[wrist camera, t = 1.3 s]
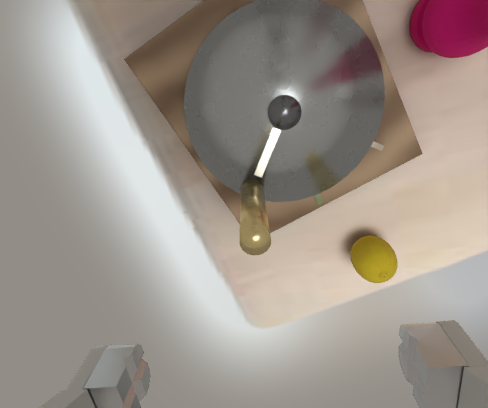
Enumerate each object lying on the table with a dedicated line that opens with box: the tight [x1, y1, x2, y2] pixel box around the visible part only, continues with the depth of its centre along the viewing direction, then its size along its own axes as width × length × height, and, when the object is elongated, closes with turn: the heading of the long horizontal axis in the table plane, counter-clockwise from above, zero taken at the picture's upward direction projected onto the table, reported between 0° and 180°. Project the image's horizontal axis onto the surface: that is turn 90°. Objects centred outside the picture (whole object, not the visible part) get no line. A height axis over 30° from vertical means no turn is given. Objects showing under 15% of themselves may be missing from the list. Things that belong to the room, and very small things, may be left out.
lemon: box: [351, 236, 397, 283], centre depth 44 cm, size 6×6×8 cm
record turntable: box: [184, 0, 385, 255], centre depth 32 cm, size 22×22×13 cm
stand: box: [124, 0, 422, 233], centre depth 39 cm, size 27×24×2 cm
